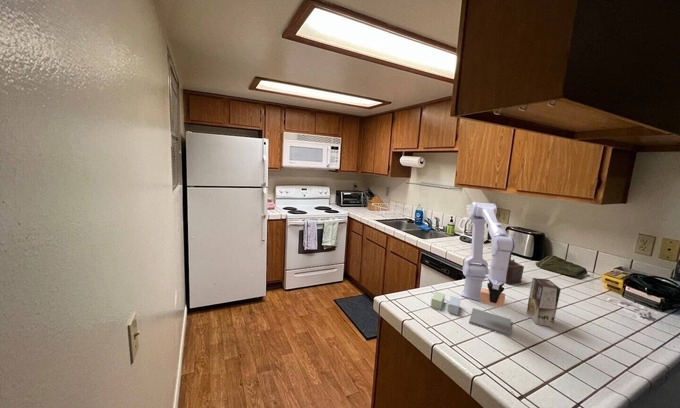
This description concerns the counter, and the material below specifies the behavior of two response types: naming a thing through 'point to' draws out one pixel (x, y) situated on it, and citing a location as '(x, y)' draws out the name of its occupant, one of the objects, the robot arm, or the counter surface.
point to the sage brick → (437, 300)
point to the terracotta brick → (486, 298)
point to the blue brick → (454, 305)
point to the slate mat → (491, 321)
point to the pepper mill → (514, 272)
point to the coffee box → (543, 301)
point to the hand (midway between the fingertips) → (493, 299)
